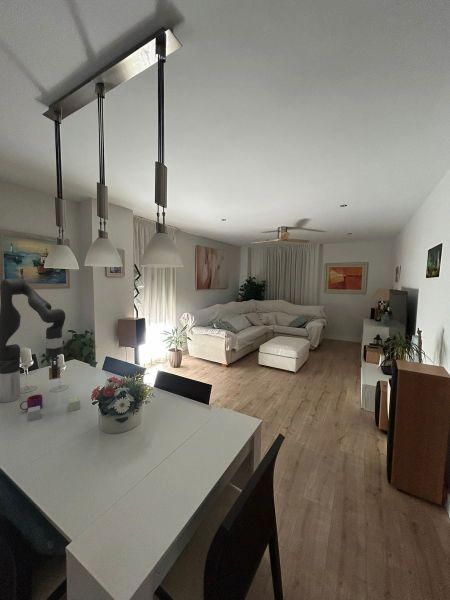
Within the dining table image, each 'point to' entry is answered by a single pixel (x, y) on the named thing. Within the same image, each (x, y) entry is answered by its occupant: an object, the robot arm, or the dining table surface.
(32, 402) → the mug
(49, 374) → the walnut cube
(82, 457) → the dining table surface
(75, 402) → the sage cube
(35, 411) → the slate cube
